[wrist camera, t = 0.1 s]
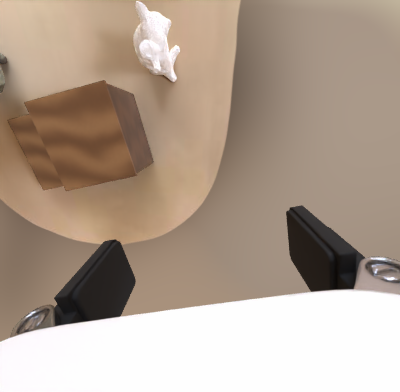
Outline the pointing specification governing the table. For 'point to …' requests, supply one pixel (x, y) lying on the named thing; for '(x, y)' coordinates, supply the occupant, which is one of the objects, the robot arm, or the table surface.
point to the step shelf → (83, 137)
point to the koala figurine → (154, 42)
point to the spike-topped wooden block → (0, 76)
